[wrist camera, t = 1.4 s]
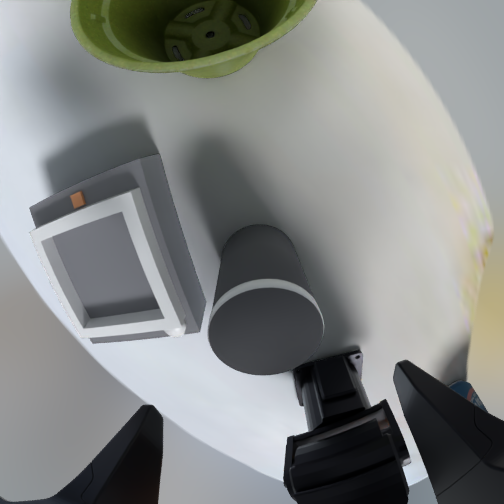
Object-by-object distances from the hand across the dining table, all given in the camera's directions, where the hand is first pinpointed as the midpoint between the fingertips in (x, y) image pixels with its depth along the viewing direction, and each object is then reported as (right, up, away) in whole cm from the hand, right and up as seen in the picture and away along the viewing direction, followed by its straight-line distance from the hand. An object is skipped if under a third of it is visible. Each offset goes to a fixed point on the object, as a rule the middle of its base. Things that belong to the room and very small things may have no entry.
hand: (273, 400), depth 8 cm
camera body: (-10, +5, +10) cm, 15 cm away
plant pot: (-3, +18, +5) cm, 19 cm away
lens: (0, +5, +10) cm, 11 cm away
